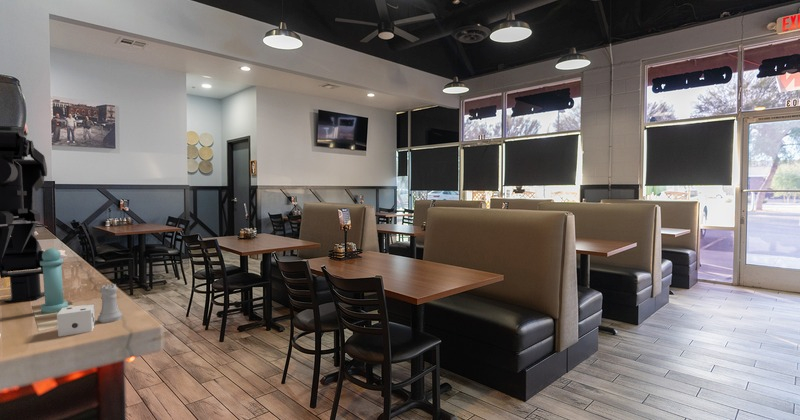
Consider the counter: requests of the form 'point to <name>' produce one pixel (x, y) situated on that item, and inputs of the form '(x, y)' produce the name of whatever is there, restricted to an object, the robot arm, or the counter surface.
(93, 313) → the die
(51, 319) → the board
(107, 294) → the rook chess piece
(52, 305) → the pawn
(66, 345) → the counter surface
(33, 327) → the counter surface
